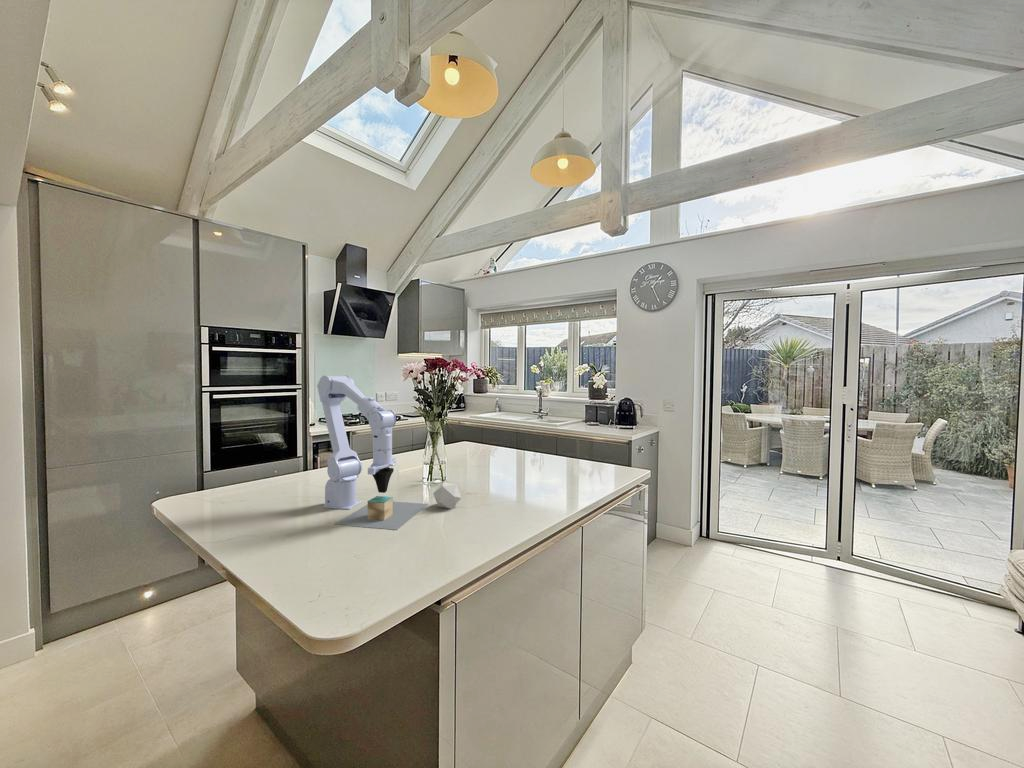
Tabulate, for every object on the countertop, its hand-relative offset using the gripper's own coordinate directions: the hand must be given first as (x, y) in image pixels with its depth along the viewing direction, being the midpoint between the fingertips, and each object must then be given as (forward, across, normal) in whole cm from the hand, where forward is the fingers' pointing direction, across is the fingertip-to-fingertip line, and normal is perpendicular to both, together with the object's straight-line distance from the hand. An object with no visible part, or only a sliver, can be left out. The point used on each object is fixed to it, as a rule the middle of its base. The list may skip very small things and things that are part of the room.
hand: (382, 492), depth 133 cm
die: (+8, +12, -17) cm, 22 cm away
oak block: (+2, -1, 0) cm, 2 cm away
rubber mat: (+8, +2, 0) cm, 8 cm away
